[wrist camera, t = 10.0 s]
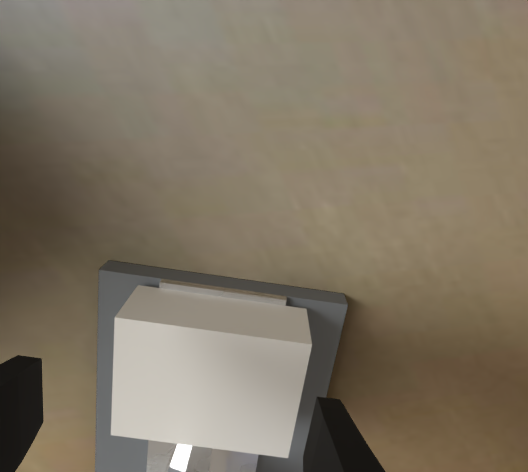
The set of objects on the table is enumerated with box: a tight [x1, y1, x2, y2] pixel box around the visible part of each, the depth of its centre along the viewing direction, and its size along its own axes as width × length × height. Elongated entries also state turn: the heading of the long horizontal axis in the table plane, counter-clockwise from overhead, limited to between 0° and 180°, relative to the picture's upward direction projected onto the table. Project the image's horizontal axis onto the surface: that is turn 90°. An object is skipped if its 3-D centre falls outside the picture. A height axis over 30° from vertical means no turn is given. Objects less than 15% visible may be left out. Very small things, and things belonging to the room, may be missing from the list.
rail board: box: [95, 260, 348, 472], centre depth 23 cm, size 20×12×1 cm, turn 172°
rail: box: [146, 279, 287, 472], centre depth 23 cm, size 20×6×1 cm, turn 172°
